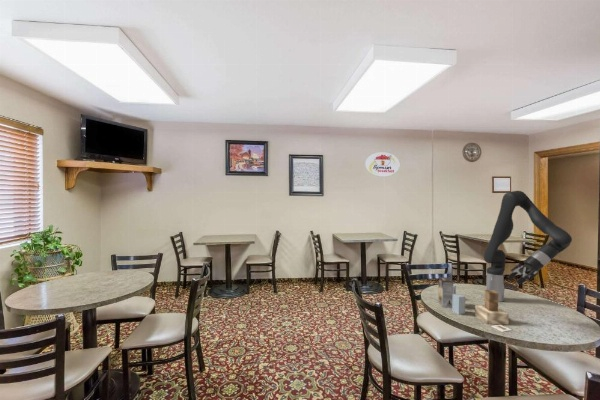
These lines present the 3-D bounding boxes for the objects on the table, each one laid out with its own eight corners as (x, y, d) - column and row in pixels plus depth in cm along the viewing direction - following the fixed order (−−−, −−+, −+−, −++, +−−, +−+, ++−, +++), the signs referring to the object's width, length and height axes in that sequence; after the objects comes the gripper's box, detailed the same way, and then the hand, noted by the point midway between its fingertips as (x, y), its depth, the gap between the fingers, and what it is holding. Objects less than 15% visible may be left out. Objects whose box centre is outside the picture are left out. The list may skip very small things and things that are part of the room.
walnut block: (493, 307, 156) (493, 290, 156) (498, 311, 152) (498, 293, 151) (484, 307, 157) (485, 289, 157) (488, 310, 152) (489, 292, 152)
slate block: (458, 310, 166) (458, 294, 166) (464, 313, 162) (465, 296, 162) (452, 311, 165) (452, 294, 165) (458, 314, 161) (458, 297, 160)
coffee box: (437, 301, 181) (438, 276, 180) (448, 302, 179) (449, 277, 179) (442, 307, 172) (442, 280, 171) (453, 308, 170) (453, 281, 170)
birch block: (494, 316, 160) (494, 305, 160) (508, 324, 149) (508, 313, 149) (475, 315, 160) (475, 305, 160) (487, 324, 149) (487, 313, 149)
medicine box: (455, 298, 187) (456, 285, 187) (454, 300, 184) (454, 287, 184) (443, 295, 193) (443, 283, 193) (441, 297, 189) (441, 284, 189)
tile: (500, 325, 147) (500, 324, 147) (511, 330, 141) (511, 329, 141) (491, 326, 146) (491, 325, 146) (502, 331, 140) (502, 330, 140)
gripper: (523, 253, 158) (500, 272, 160) (540, 258, 144) (515, 279, 146) (533, 263, 157) (510, 282, 159) (552, 269, 143) (526, 290, 145)
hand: (513, 280), depth 153 cm, fingers open, 8 cm apart
